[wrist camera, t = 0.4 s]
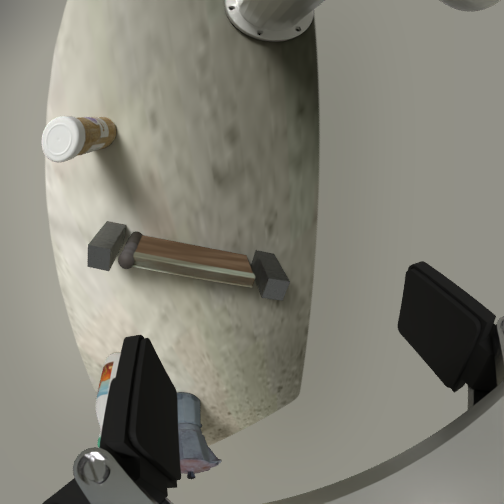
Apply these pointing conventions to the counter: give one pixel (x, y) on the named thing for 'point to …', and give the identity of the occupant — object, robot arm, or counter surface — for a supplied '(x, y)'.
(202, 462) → the moka pot
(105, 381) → the milk bottle
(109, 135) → the sprinkles bottle
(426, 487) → the robot arm
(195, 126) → the counter surface
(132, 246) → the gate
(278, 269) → the grey rectangular blocks
